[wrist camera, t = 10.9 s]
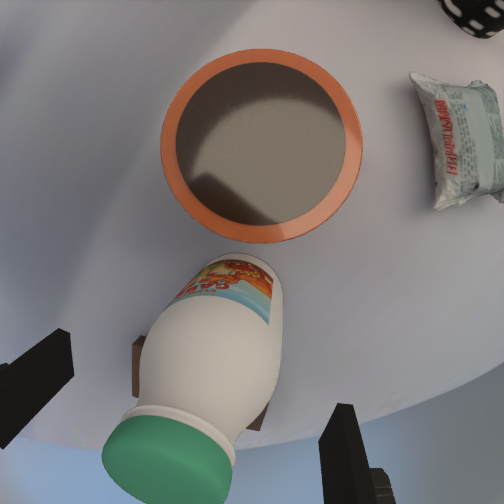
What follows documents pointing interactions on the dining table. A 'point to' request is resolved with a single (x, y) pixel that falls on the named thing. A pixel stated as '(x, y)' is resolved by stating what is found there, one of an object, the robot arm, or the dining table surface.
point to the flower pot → (261, 146)
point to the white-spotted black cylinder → (476, 15)
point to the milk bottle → (200, 384)
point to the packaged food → (463, 140)
